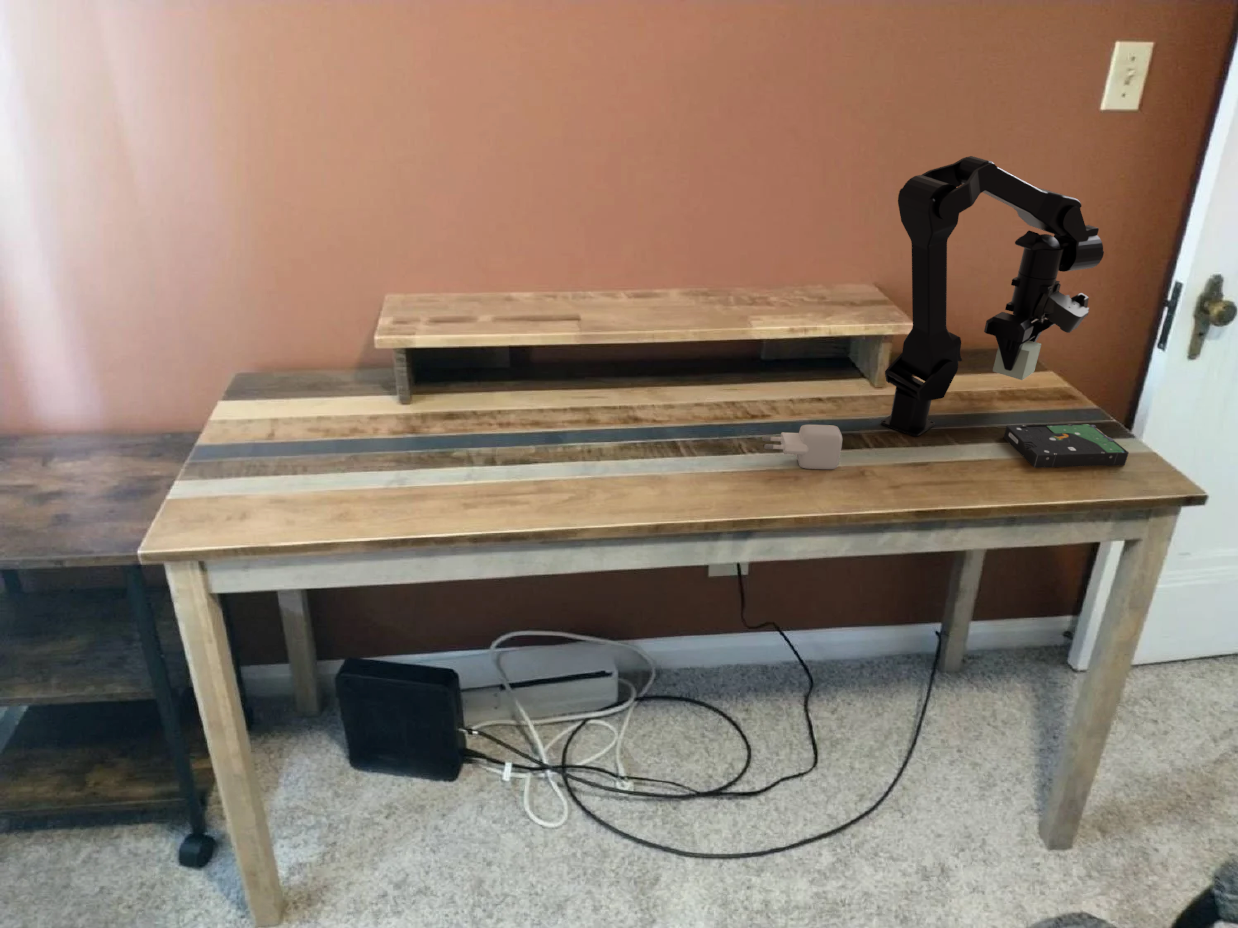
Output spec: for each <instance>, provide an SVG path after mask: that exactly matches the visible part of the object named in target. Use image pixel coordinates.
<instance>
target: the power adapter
mask: <svg viewBox="0 0 1238 928" xmlns="http://www.w3.org/2000/svg"><path fill="white" fill-rule="evenodd" d="M761 440H762V441H763V442H780V444H772V443H771V444H770V443H768V444H767V443H766V444H764V449H765V450H782V452H783V454H784V455H795V456H796V459H797V463H798V465H799V467H800V468H802V469H806V470H807V469H808V470H809V469H810V470H835V469H838V466H839V464H840V463H839V462H840V459H841V453H842V447H843V435H842V433H841V429H840V428H839V427H838V426H836V425H833V424H832V425H829V424H803V425H801V426H800V428H799V432H783V431H782V432H781V433H780V436H771V435H767V436H766V435H763V436H762V437H761Z"/></svg>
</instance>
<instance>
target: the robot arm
mask: <svg viewBox="0 0 1238 928" xmlns="http://www.w3.org/2000/svg"><path fill="white" fill-rule="evenodd" d="M982 193H983V194H985V195H987V196H989V197H991V198H993V199H995V200H997V201H999V202H1001V203H1002V204H1005V205H1006V206H1008V207H1011V208H1013V209H1014V210H1015V211H1016V212H1017V216H1018V217H1019V218H1020V219H1021V220H1023V222H1025V223H1026V225H1028V226H1029V227H1032V228H1036V229H1038V230H1040V231H1044V232H1046V233H1043V234H1042V233H1041V234H1040V233H1038V232H1035V231H1033V230H1028V231H1026V232H1025V234H1023V235H1021V236H1019V237H1018V238H1017V239H1016V240H1015V241H1014V245H1016V246H1018V247H1021V248H1023V251H1022V255H1021V260H1020V264H1019V266H1018V267H1019V268H1018V272H1017V276H1015V277H1014V278H1012V279H1011V283H1010V285H1011V286H1013V287H1014V289H1013V293H1012V296H1011V301H1009V302H1008V303H1006V305H1005V309H1004V311H1001V312H999V313H997V314H995V315H994V316H992V317H990V318H989V319H986V322H985V326H984V330H983V332H984V333H985V334H987V335H991V336H994V337H995V339H996V343H997V344H998V345H997V347H998V346H999V349H1000V353H1001V357H1002V361H1003V364H1004V368H1005V370H1009V371H1011V370H1012V369H1013V367H1014V365H1015V363H1016V360H1017V358H1018V355H1019V353H1020V351H1021V348H1022V346H1023V344H1024V343H1025V342H1027V341H1033V342H1037V341H1038V339H1039V337H1040V336H1041V334H1042V332H1044V331H1045V330H1047V329H1049V328H1051V327H1052V326H1054V325H1056V326H1057V327H1059V329H1060V331H1063V332H1064V333H1066V334H1070V333H1072V332H1073V331H1074V330H1076V329H1078V327H1079V326H1080V325H1081V323H1082V322H1083V320H1084V319H1085V318H1086V317H1087V316H1088V315H1089V313H1090V311H1089V310H1090V309H1091V308H1090V307H1088V306H1089V305H1088V304H1089V296H1087V295H1086V294H1084V293H1083V292H1080V293H1078V294H1076V295H1073V296H1072V297H1071V295H1070V294H1066V295H1065V294H1063V293H1062V292H1060V290H1061V286H1062V285H1061V283H1060V280H1057V277H1058V274H1059V272H1062V273H1063V272H1065V273H1066V272H1072V271H1078V270H1086V269H1087V270H1088V269H1094V268H1095V267H1097V266H1098V265H1099V264H1100V262H1101V261H1102V260H1103V257H1104V254H1105V251H1104V245H1103V242H1102V240H1101V238H1100V236H1099V235H1098V233H1099V229H1100V228H1099V227H1097V226H1094V225H1090V224H1086V223H1085V220H1084V218H1083V217H1084V216H1083V214H1082V211H1081V210H1082V209H1081V207H1082V203H1081V201H1080V200H1079V199H1078V198H1076V197H1073V196H1070V195H1069V196H1068V195H1065V194H1062V193H1058V192H1055V191H1051V190H1050V189H1049V190H1048V189H1044V188H1041V187H1036V186H1034V185H1032V184H1031V183H1029V182H1027V181H1025V180H1024V179H1021V178H1019V177H1018V176H1015V175H1013V174H1012V173H1010V172H1008V171H1006V170H1004V169H1003V168H1000V167H999V166H997V165H996V164H995V163H994V162H993V161H991V160H987V159H984V158H981V157H977V156H973V155H970V156H966V157H962V158H961V159H959V160H957V161H955V162H953V163H951V164H948V165H944V166H940V167H936V168H933V169H929V170H927V171H926V172H924V173H922V174H919V175H918V174H917V175H914V176H912V177H911V178H909V179H908V180H907V181H906V182H905V183H904V185H903V187H902V188H900V190H899V191H898V196H897V205H898V210H899V216H900V221H901V222H900V223H902V225H903V227H904V230H905V232H906V234H907V235H908V237H909V239H910V243H911V290H912V291H911V293H912V294H911V296H912V297H911V299H912V300H911V301H912V302H911V303H912V306H911V307H912V308H911V309H912V328H911V330H910V331H909V333H908V334H907V336H905V338H904V339H903V345H902V352H901V353H900V354H899V355H898V356H897V358H896V359H895V360H894V361H893V362H891V364H890V365H889V366H888V367H887V368H886V369H885V371H884V375H885V382H887V383H888V384H891V385H893V386H894V387H895V391H894V396H893V401H892V406H891V407H892V408H891V412H890V415H888V416H886V417H885V418H883V419H882V420H880V424H881V425H882V426H885V427H888V428H889V429H890V428H891V429H893V430H897V431H898V432H902V433H904V434H907V435H910V436H912V437H919V436H921V435H922V434H924V433H925V432H926V431H929V430H930V429H931V428H933V427H934V426H936V425H935V424H936V422H935V421H933V420H931V419H928V418H929V414H930V408H931V404H932V401H934V400H940V399H944V398H945V396H946V394H947V392H948V390H949V388H950V386H951V384H952V383H953V381H954V378H955V376H956V374H957V372H958V370H959V369H958V368H959V362H963V359H962V357H961V348H962V340H961V337H960V336H959V335H957V334H955V333H953V332H950V331H949V330H948V326H947V316H948V315H947V311H948V309H947V305H948V304H947V298H948V297H947V296H948V293H947V292H948V291H947V289H948V283H947V282H948V281H947V280H948V278H947V277H948V240H949V239H950V236H951V234H952V233H953V231H954V230H955V228H956V227H957V225H958V224H959V223H958V222H959V219H960V218H959V216H960V214H961V213H962V212H964V211H966V210H967V209H969V208H971V207H972V206H974V204H975V202H976V201H977V199H978V197H979V196H980V194H982ZM1049 233H1050V234H1049ZM1051 234H1053V235H1051ZM1005 311H1008V312H1011V313H1008V312H1005Z"/></svg>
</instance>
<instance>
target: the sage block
mask: <svg viewBox="0 0 1238 928" xmlns="http://www.w3.org/2000/svg"><path fill="white" fill-rule="evenodd" d="M1041 348H1042V343H1041V342H1040V343H1039V342H1037V341H1036V342H1033V341H1027V342H1025V343H1024V344H1023V346H1022V348H1021V351H1020V353H1019V355H1018V358H1017V360H1016V363H1015V365H1014V367H1013V369H1012V370H1011V371H1009V370H1005V368H1004V364H1003V361H1002V357H1001V353H1000V349H999V346H998V345H997V351H996V355H995V359H994V364H993V368H992V372H994V373H997V374H999V375H1003V376H1006V377H1009V378H1014V379H1016V380H1020V381H1023V380H1025V379H1026V378H1028V377H1029V376H1031V375H1032V374H1033V373H1035V369H1036V367H1037V362H1038V358H1039V356H1040V351H1041Z"/></svg>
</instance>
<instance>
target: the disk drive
mask: <svg viewBox="0 0 1238 928" xmlns="http://www.w3.org/2000/svg"><path fill="white" fill-rule="evenodd" d="M1003 439H1004V440H1006V442H1008V444H1010V446H1011V447H1012V448H1014V450H1015V451H1016V452H1018V453H1019V455H1020V456H1022V458H1023V459H1025V460H1026V461H1027V462H1028V463H1029V464H1030V465H1031V467H1033V468H1035V469H1038V468H1040V469H1041V468H1045V469H1047V468H1048V469H1049V468H1069V467H1070V468H1072V467H1074V468H1076V467H1102V466H1103V467H1104V466H1105V467H1106V466H1107V467H1110V466H1111V467H1113V466H1125V465H1126V462H1127V460H1128V456H1129V454H1130V453H1129V451H1128V450H1126V449H1125V448H1124V446H1122V445H1120V444H1119V443H1118V442H1116V441H1115V439H1113V438H1112V437H1109V436H1107V435H1106V434H1105V433H1104V432H1102V431H1101V430H1100V429H1098V428H1097V426H1096V425H1095V424H1088V423H1084V424H1082V423H1054V424H1053V423H1050V424H1049V423H1048V424H1011V425H1008V424H1007V425H1006V426H1005V430H1004V434H1003Z"/></svg>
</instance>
